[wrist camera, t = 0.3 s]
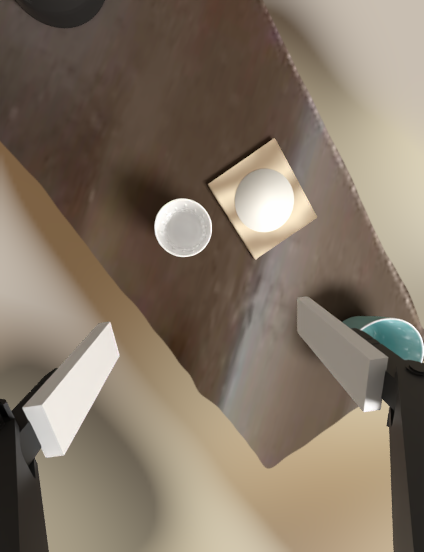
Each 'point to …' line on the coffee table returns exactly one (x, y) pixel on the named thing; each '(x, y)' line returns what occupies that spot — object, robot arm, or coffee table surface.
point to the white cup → (183, 227)
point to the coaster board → (263, 199)
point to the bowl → (391, 335)
